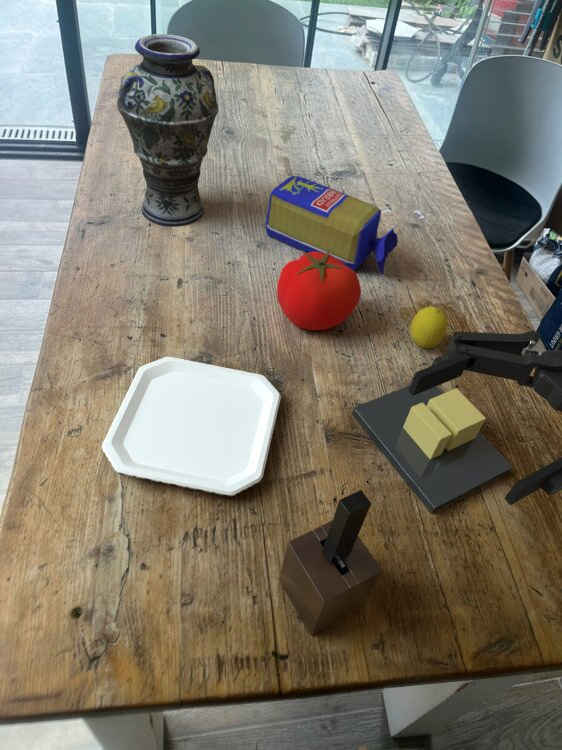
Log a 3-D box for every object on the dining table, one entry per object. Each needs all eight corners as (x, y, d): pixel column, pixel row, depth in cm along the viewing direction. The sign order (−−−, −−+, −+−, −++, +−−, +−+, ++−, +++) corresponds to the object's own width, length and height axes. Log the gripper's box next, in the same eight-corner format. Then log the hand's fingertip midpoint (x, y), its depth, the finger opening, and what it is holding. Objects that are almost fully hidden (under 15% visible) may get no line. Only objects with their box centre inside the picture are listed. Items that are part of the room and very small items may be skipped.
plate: (283, 388, 86) (285, 378, 84) (256, 509, 71) (257, 499, 70) (147, 361, 86) (146, 350, 85) (93, 475, 72) (91, 465, 71)
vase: (113, 197, 116) (94, 30, 94) (191, 181, 123) (190, 22, 102) (148, 241, 107) (136, 68, 85) (230, 220, 114) (238, 56, 93)
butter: (474, 438, 81) (486, 418, 78) (448, 451, 79) (458, 431, 76) (446, 408, 84) (456, 387, 81) (420, 419, 82) (429, 399, 79)
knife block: (364, 605, 65) (382, 570, 58) (311, 636, 62) (324, 602, 55) (329, 553, 68) (343, 514, 62) (278, 579, 66) (287, 541, 59)
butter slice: (441, 454, 78) (452, 434, 75) (430, 459, 77) (440, 439, 74) (413, 422, 82) (422, 402, 78) (402, 427, 81) (411, 406, 78)
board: (509, 473, 79) (513, 467, 78) (431, 514, 73) (434, 508, 72) (425, 384, 89) (428, 377, 88) (351, 414, 84) (353, 407, 82)
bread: (285, 214, 118) (291, 167, 110) (396, 261, 111) (411, 213, 103) (258, 236, 112) (263, 187, 104) (374, 287, 105) (388, 238, 97)
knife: (337, 599, 65) (376, 509, 51) (319, 609, 64) (353, 520, 50) (322, 576, 66) (356, 483, 52) (304, 585, 65) (334, 493, 51)
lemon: (416, 361, 93) (431, 323, 87) (398, 338, 96) (411, 300, 90) (444, 353, 94) (461, 316, 89) (425, 331, 98) (440, 294, 92)
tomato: (280, 288, 102) (288, 231, 93) (356, 303, 101) (370, 247, 93) (266, 333, 93) (273, 276, 85) (348, 350, 93) (363, 294, 84)
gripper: (690, 475, 57) (543, 570, 49) (510, 319, 71) (371, 371, 63) (741, 429, 52) (587, 526, 43) (536, 270, 66) (388, 319, 57)
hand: (459, 435), depth 53 cm, fingers open, 13 cm apart
